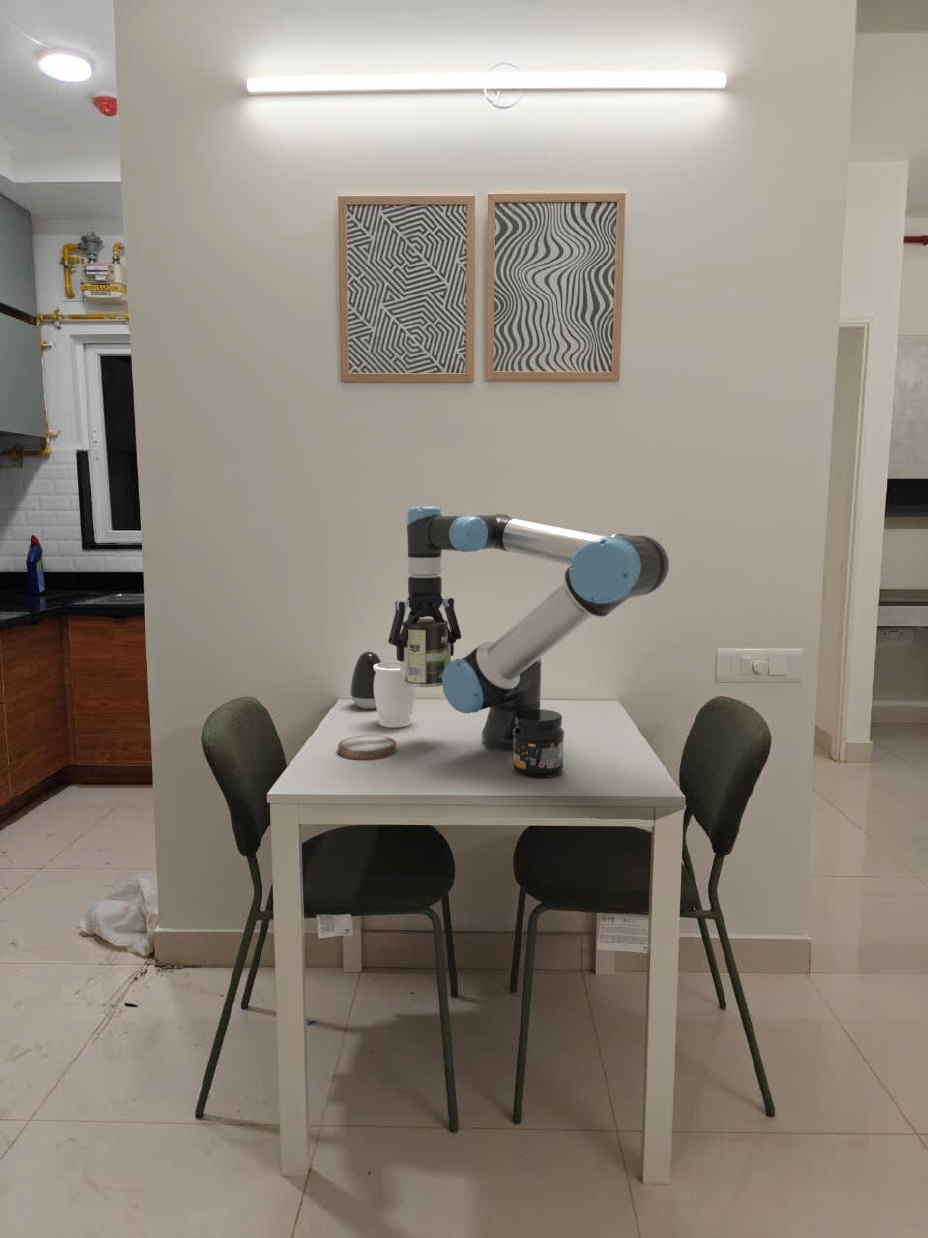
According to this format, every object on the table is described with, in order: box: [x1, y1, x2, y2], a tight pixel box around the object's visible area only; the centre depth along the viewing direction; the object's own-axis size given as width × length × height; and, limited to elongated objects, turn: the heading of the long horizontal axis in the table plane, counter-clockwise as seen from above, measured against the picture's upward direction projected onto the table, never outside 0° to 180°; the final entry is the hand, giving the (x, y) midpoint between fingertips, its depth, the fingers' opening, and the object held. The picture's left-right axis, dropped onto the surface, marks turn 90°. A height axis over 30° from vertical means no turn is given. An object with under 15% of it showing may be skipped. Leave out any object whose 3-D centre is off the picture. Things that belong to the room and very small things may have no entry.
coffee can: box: [402, 618, 449, 688], centre depth 186 cm, size 10×10×14 cm
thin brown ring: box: [337, 735, 398, 761], centre depth 183 cm, size 13×13×2 cm
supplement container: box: [512, 708, 565, 779], centre depth 169 cm, size 10×10×12 cm
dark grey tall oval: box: [349, 651, 383, 710], centre depth 220 cm, size 10×10×15 cm
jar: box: [374, 660, 416, 729], centre depth 203 cm, size 11×10×15 cm
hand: (425, 672), depth 187 cm, fingers closed on coffee can, 10 cm apart
